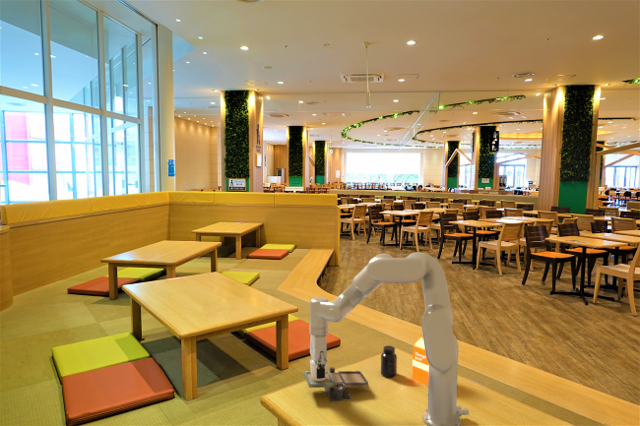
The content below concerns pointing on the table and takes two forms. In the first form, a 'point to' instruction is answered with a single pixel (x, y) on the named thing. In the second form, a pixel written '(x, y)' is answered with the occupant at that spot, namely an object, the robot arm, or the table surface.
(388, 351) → the supplement bottle
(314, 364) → the cup of milk
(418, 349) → the orange juice
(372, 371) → the table surface
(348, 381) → the balance beam board
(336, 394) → the pivot stand
